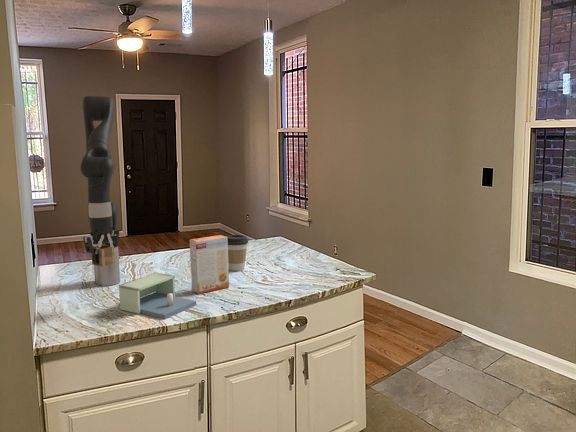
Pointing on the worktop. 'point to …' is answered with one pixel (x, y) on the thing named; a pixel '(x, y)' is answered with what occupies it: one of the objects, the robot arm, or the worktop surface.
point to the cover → (144, 290)
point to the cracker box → (209, 263)
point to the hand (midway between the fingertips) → (103, 261)
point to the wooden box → (105, 256)
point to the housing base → (164, 305)
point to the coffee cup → (236, 252)
